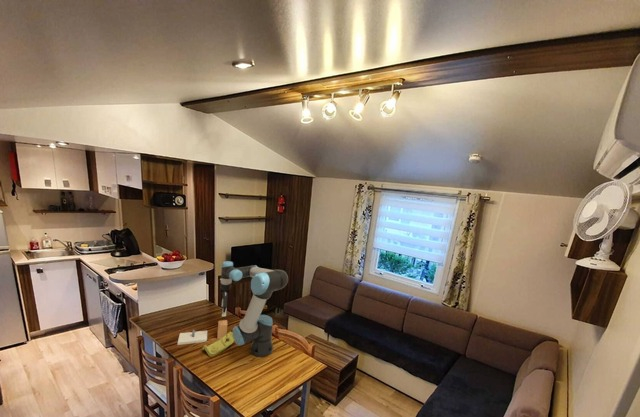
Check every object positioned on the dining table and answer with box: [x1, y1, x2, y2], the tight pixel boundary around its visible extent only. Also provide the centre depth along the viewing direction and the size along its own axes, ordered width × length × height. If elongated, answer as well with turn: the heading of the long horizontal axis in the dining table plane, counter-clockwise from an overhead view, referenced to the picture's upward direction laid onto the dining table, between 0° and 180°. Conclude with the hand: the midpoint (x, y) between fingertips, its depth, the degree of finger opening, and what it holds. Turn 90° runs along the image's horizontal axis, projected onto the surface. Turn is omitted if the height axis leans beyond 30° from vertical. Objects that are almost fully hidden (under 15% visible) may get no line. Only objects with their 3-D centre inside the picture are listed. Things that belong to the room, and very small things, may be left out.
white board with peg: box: [177, 329, 208, 346], centre depth 182 cm, size 12×18×6 cm, turn 111°
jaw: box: [216, 319, 228, 340], centre depth 188 cm, size 7×6×10 cm
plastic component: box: [201, 331, 235, 358], centre depth 174 cm, size 20×7×10 cm
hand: (223, 311), depth 188 cm, fingers open, 13 cm apart
